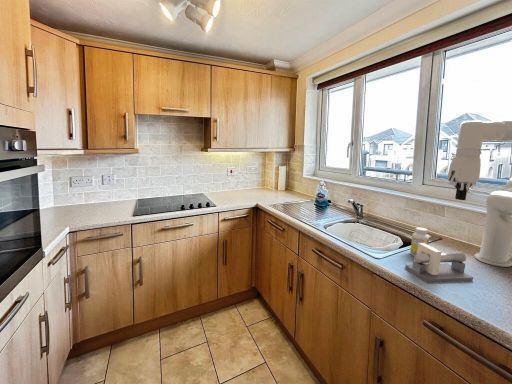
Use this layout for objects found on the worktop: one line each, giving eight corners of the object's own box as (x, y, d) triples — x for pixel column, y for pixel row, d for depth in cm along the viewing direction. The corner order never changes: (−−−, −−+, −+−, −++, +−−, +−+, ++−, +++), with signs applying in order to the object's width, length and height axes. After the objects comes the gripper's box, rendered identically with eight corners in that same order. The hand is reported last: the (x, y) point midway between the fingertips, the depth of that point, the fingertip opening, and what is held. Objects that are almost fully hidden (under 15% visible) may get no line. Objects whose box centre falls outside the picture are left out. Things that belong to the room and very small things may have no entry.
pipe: (455, 267, 109) (458, 250, 107) (463, 272, 105) (467, 254, 104) (412, 269, 107) (414, 251, 105) (419, 274, 103) (421, 256, 101)
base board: (446, 266, 113) (447, 263, 113) (472, 281, 101) (473, 277, 101) (405, 268, 111) (405, 264, 111) (426, 283, 99) (426, 279, 99)
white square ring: (421, 263, 110) (424, 242, 108) (438, 274, 101) (441, 251, 99) (415, 263, 109) (418, 243, 108) (432, 274, 100) (435, 252, 99)
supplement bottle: (420, 252, 128) (424, 226, 125) (429, 258, 121) (434, 231, 119) (406, 252, 127) (410, 226, 125) (415, 258, 121) (419, 231, 119)
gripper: (476, 153, 109) (468, 197, 112) (442, 152, 107) (436, 197, 111) (494, 154, 102) (485, 201, 105) (458, 153, 100) (451, 201, 103)
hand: (460, 199), depth 108 cm, fingers closed
